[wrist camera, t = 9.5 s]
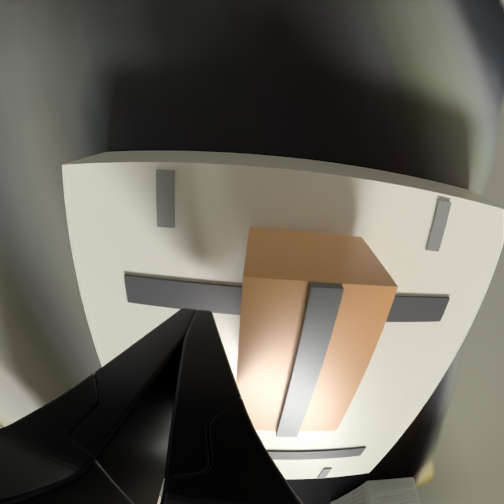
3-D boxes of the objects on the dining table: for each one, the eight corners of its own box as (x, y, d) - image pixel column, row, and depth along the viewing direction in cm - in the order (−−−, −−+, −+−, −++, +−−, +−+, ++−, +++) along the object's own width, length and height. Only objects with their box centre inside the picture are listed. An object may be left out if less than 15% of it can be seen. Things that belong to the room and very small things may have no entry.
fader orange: (239, 366, 10) (232, 434, 7) (249, 226, 8) (242, 282, 5) (325, 370, 10) (337, 435, 7) (361, 237, 8) (401, 292, 5)
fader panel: (153, 428, 18) (143, 463, 15) (106, 151, 10) (60, 165, 7) (362, 439, 18) (369, 474, 15) (469, 189, 10) (514, 212, 7)
